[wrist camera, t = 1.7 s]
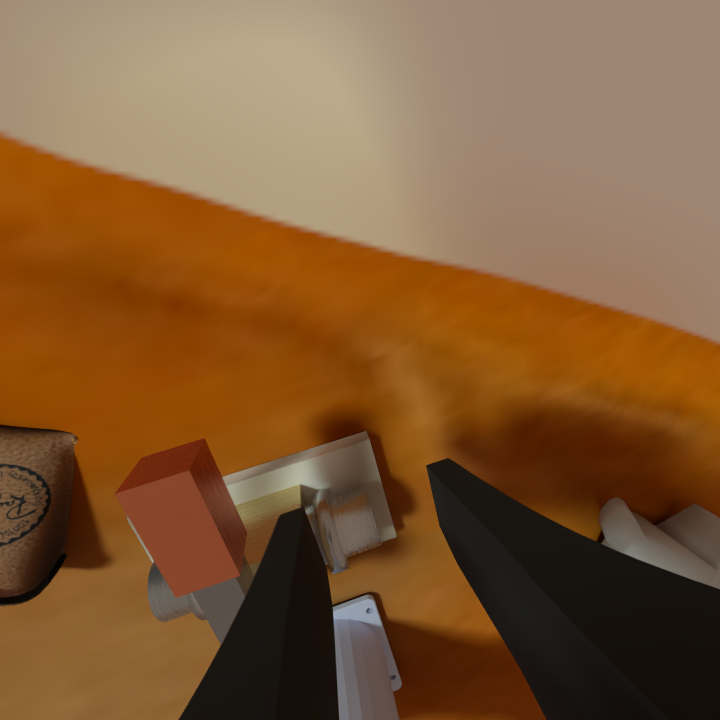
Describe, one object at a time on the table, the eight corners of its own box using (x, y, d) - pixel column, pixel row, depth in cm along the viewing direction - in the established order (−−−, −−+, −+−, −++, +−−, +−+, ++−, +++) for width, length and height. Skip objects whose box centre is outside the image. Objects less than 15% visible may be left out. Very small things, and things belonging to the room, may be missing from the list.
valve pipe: (356, 460, 20) (378, 531, 15) (374, 519, 21) (400, 604, 16) (160, 524, 19) (110, 625, 14) (192, 582, 20) (159, 694, 15)
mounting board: (366, 430, 20) (369, 439, 19) (392, 525, 22) (396, 536, 22) (134, 505, 19) (126, 518, 18) (186, 596, 21) (182, 612, 20)
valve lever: (303, 644, 15) (305, 695, 13) (246, 666, 14) (240, 720, 13) (210, 436, 11) (196, 468, 10) (135, 459, 11) (107, 496, 10)
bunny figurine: (708, 650, 26) (577, 655, 20) (639, 588, 31) (516, 577, 25) (789, 548, 24) (669, 521, 19) (702, 497, 29) (585, 464, 23)
